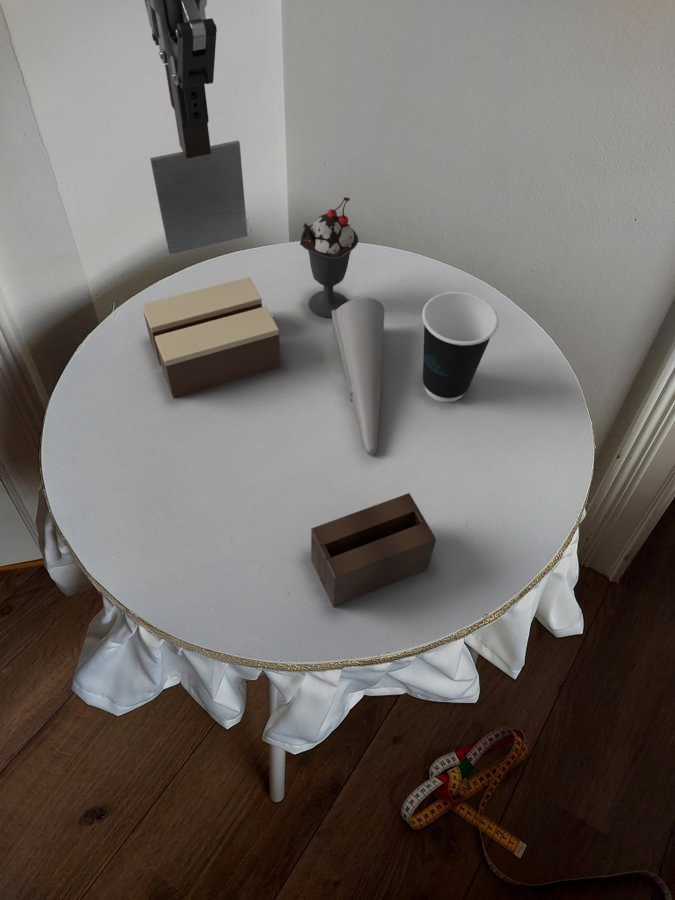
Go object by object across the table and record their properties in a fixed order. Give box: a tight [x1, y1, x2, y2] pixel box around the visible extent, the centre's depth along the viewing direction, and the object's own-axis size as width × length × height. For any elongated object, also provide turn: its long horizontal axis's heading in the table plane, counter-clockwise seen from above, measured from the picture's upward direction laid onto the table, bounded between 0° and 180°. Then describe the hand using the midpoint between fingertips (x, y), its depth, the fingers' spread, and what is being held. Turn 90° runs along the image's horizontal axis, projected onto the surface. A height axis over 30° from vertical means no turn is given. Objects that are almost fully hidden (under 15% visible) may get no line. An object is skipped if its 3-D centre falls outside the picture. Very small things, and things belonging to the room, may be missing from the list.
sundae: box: [299, 197, 359, 319], centre depth 86 cm, size 7×7×15 cm
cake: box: [141, 276, 281, 399], centre depth 84 cm, size 13×10×6 cm
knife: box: [149, 53, 248, 256], centre depth 64 cm, size 8×2×18 cm, turn 113°
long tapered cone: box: [331, 297, 386, 456], centre depth 82 cm, size 6×6×19 cm
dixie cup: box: [421, 291, 499, 403], centre depth 80 cm, size 8×8×11 cm
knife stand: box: [310, 492, 437, 608], centre depth 68 cm, size 10×5×6 cm, turn 114°
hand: (190, 116), depth 61 cm, fingers closed on knife, 2 cm apart
